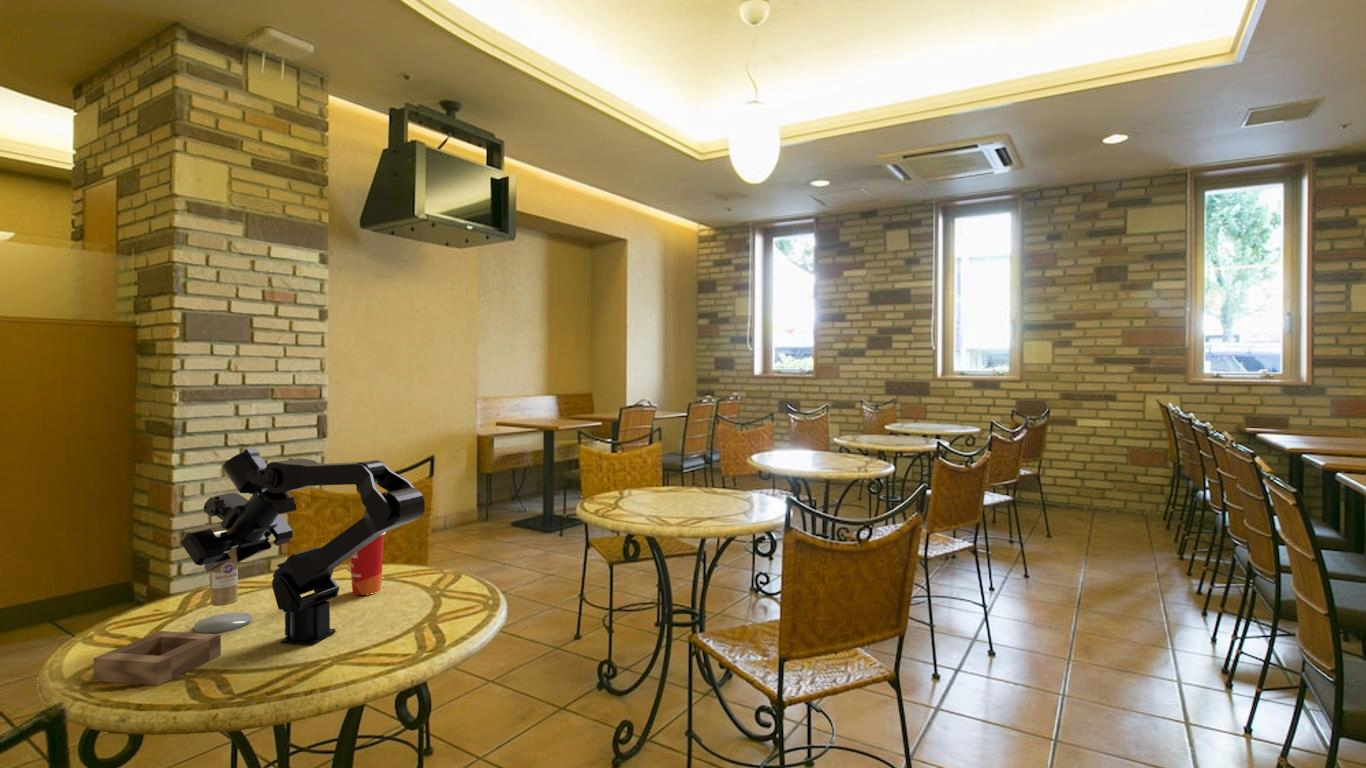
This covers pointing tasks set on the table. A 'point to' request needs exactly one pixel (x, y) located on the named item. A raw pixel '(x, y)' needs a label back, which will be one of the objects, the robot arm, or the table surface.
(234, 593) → the sprinkles bottle
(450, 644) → the table surface
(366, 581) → the paper cup
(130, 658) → the walnut caddy
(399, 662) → the table surface
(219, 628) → the slate coaster
